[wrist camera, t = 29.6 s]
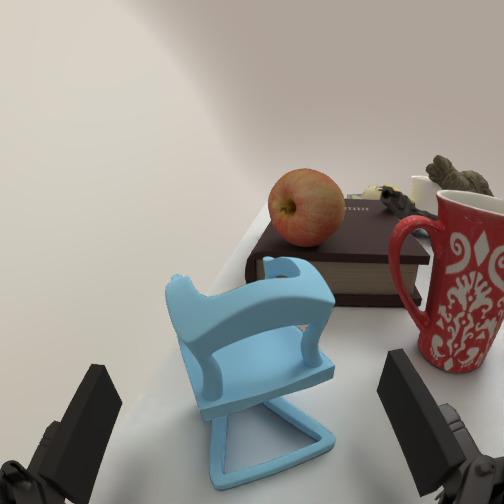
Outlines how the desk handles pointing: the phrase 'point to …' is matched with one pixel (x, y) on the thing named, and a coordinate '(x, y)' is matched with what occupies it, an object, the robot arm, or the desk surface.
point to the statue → (456, 177)
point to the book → (351, 257)
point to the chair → (255, 354)
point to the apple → (306, 207)
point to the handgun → (401, 204)
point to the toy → (375, 193)
